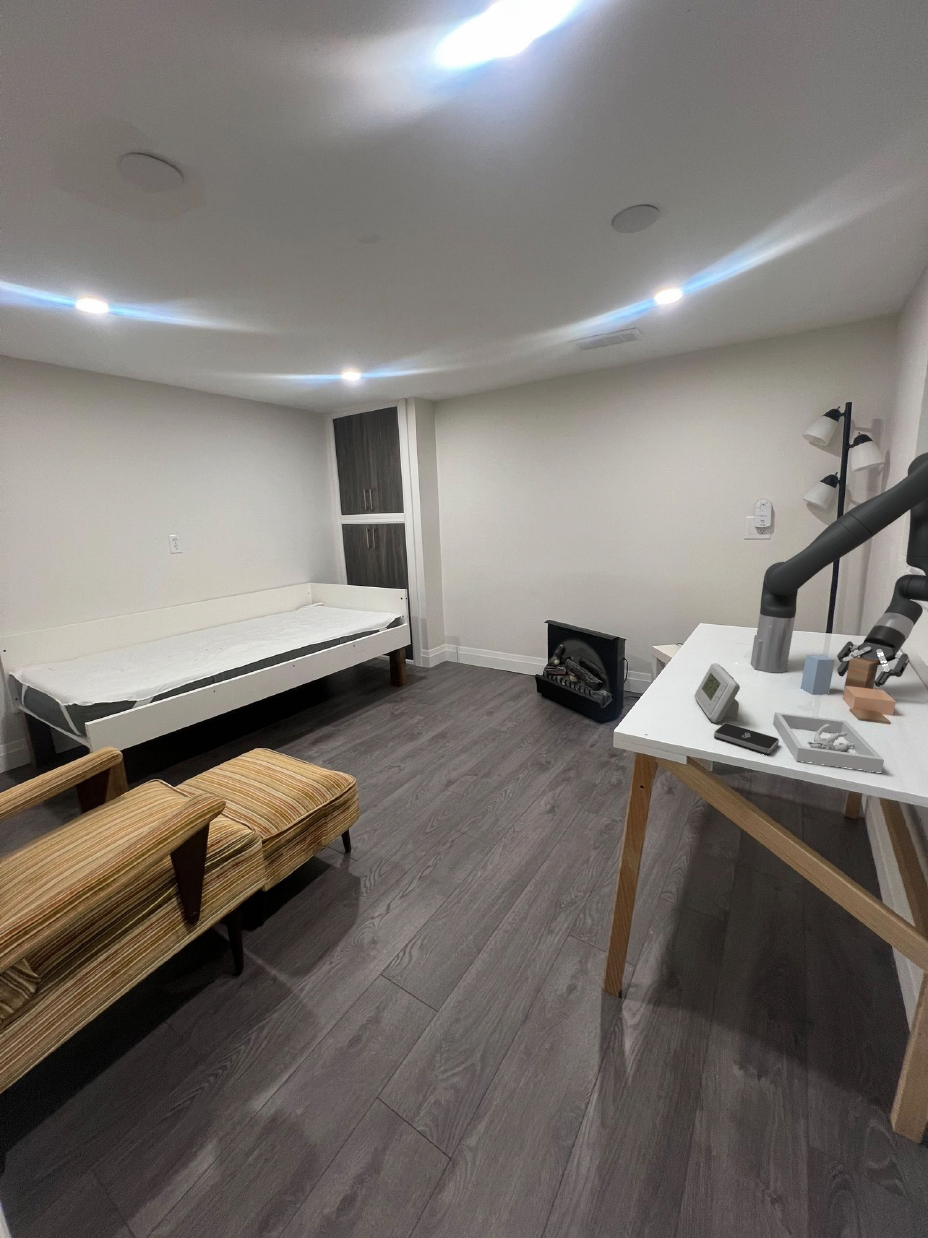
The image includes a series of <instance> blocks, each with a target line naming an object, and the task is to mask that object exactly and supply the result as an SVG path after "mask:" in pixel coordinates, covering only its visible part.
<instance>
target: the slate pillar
mask: <svg viewBox="0 0 928 1238" xmlns="http://www.w3.org/2000/svg"><path fill="white" fill-rule="evenodd" d="M805 655H806V656H805V660H804V667H803V673H802V678H801V679H802V680H801V685H800V689H801V690H802V689H803V690H802V691H804V692H806V693H807V694H810V695H812V696H815V695H816V696H817V695H819V696H822V695H823V694H828V695H829V694H830V688H831V684H832V678H833V677H832V676H833V672H834V666H835V661H836V660H835V659H834V658H832V657H829V656H827V655H825V654H805Z"/></svg>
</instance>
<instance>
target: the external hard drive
mask: <svg viewBox="0 0 928 1238" xmlns="http://www.w3.org/2000/svg"><path fill="white" fill-rule="evenodd" d="M713 738H714V740H717V741H721V742H723V743H725V744H729V745H731V746H736V747H739V748H741V749H744V750H747V749H748V751H751V752H754V753H757V754H759V753H760V755H762V754H764V755H763V756H766V755H767V756H766V757H770V755H771V754H772V753H773V752H774V751H775V750H776V749H777V747H779V742H780V739H779V737H774V736H771V735H768V734H766V733H761V732H759V731H755V730H751V729H749V728H745V727H741V726H738V725H735V724H731V723H729V722H724V723H723V724H722V725H721V726H719V727H718V728H717V729H715V731H714V733H713Z"/></svg>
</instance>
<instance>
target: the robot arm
mask: <svg viewBox="0 0 928 1238" xmlns="http://www.w3.org/2000/svg"><path fill="white" fill-rule="evenodd" d="M908 511H909V515H910V516H909V517H910V518H909V531H908V532H909V533H908V539H907V540H908V542H907V549H906V556H905V562H906V564H907V565H908V566H909V567H911V568H916V569H919V570H921V571H923V573H924V575H923V574H911V573H910V574H909V573H908V574H904V575H902V576H900V577H899V578H897V580H896V581H895V584H894V587H893V593H892V597H891V600H890V604H889V605H888V606H887V608H886V610H885V611H884V613H883V614H882V615H881V616H880V617H879V618H878V619H877V621H876V622H875V624H873V625H874V626H873V627H872V628H871V630H869V632H868V634H867V635H866V637H865V638H864V639H863V640H864V641H863V642H862V643H861V644H859V645H858V644H854V642H852V641H850V640H849V641H847V642H846V643H845V644H844V646H843V647H842V649H840V651H839V652H838V653H837V654H836V657H837V659H838V661H839V663H840V664H839V666H838V667H837V668H836V669H837V670H836V671H837V674H838V676H839V677H844V676H845V674H846V673H847V671H848V666H849V661H850V659H852V658H856V657H862V658H866V659H870V660H875V661H879V663H878V666H881V667H882V670H883V671H880V673H879V674H878V675H877V677H876V678H875V682H874V686H875V687H878V688H880V687H883V686H884V685H885V684H887V683H886V682H887V681H888V680H889V678H890V677H896V678H901V677H902V675H903V674H904V672H905V670H906V668H907V667H908V665H909V663H910V657H909V655H908V653H901V654H899V652H900V650H901V648H902V647H903V645H904V643H906V641H907V639H908V638H909V637H910V635H911V633H912V631H913V629H914V626H915V625H916V624H917V623H918V621H919V619H920V617H921V616H922V614H923V606H922V605H921V604H920V603H919V602H927V603H928V452H924V453H921V454H920V455H917V456H916V457H915V458H914V459H913V460H911V463H910V464H909V466H908V468H907V476H905V477H904V478H903V479H902V480H900V481H899V482H898V483H896V484H895V485H893V486H892V487H890V488H889V489H887V490H886V491H884V492H882V493H880V494H878V495H876V496H873V497H871V498H870V499H867V500H866V501H863V502H861V503H859V504H858V505H856V506H854V507H853V508H851V509H849V510H848V511H847V512H845V513H844V514H843V515H841V516H840V517H838V518H837V519H835V521H833V522H831V524H829V525H828V526H827V527H826V528H825V529H824V530H822V532H821V533H820V534H819V535H818V536H816V537H815V539H813V541H812V542H811V543H810V544H809V545H808V546H806V547H805V548H804V549H802V551H800V552H799V553H797V554H795V555H793V556H792V557H790V558H789V559H787V560H786V561H779V562H776V563H775V562H774V564H771V565H770V566H769V567H768V568H767V569H766V570H765V573H764V576H763V580H762V581H763V582H762V590H761V597H760V608H759V615H758V623H757V630H756V635H754V638H753V644H752V650H751V656H750V657H751V659H750V665H751V666H752V668H753V669H754V670H758V671H763V672H768V673H775V674H777V673H785V672H786V671H787V669H788V663H789V656H790V651H791V645H792V639H793V633H794V626H795V620H796V613H797V600H798V592H799V589H800V588H801V587H802V586H804V585H805V584H806V583H808V581H810V579H812V578H813V577H814V576H815V575H816V574H818V573H820V571H822V570H823V569H824V568H826V567H827V566H829V565H831V564H832V563H834V562H836V561H838V560H839V559H841V558H842V557H845V556H846V555H847V554H849V553H851V552H852V551H853V550H855V549H856V548H858V547H860V546H862V545H863V544H864V543H866V542H867V541H869V540H870V539H872V538H873V537H874V536H876V535H878V534H879V533H880V532H881V531H883V530H884V529H886V528H887V527H888V526H889V525H891V524H893V523H894V522H895V521H897V520H898V519H900V518H901V517H902V516H904V515H905V514H906V513H907V512H908ZM917 601H918V602H917ZM894 660H896V664H895V666H894V667H893V668H890V667H889V664H888V663H890V662H892V661H894Z"/></svg>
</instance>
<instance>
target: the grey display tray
mask: <svg viewBox="0 0 928 1238" xmlns="http://www.w3.org/2000/svg"><path fill="white" fill-rule="evenodd" d="M825 724H831V726H828V728H825V729H824V731H823V732H822V733H827V732H831V733H830V734H834V733H842V732H847V735H846V736H843V737H844V738H845V739H846V740H847V741H848V742H849V743H854V744H855V746H853V748H854V749H855V750H854V749H853V748H852V749H853V750H854V752H855V753H853V752H845V751H832V750H825V749H818V748H811V747H810V746H803V744H802V743H801V741H800V740H799V739H798V737H797V736H796V734H795V732H794V731H793V730H792V729H795V728H797V730H805V731H811V730H812V731H813V732H817V731H818V730H819V729H820V728H821V727H823V726H824V725H825ZM772 725H773V726H774V727H775V730H776V731H777V733H778V735H779V736H780V737H781V739H782V741H783V743H784V744H785V745H786V748H787V750H788V751H789V753H790V754H791V756H792V755H793V756H794V757H793V756H792V757H793V759H794V758H795V759H796V761H803V762H812V763H816V764H824V765H828V766H827V767H830V766H838V767H847V768H852V769H862V770H865V771H871V772H872V771H873V772H881V773H882V772H883V767H884V762H885V759H884V758H883V757H882V756H881V754H879V753H878V752H877V751H876V750H875V749H874V747H873V746H871V745H870V743H869V742H868V741H867V740H866V739H865V738H864V737H863V735H861V734H860V733H859V732H858V731H857V730H856V729H855V728H854V727H853V726H852V725H851V724H850V722H848V721H847V720H842V719H837V718H836V719H835V718H834V719H833V718H824V717H818V716H811V715H810V716H809V715H801V714H794V713H793V714H792V713H787V712H786V713H785V712H779V711H778V712H774V715H773V722H772ZM843 737H842V738H843ZM845 739H844V740H845ZM846 740H845V741H846ZM847 741H846V742H847ZM848 742H847V743H848ZM849 743H848V744H849ZM857 753H858V754H857ZM795 759H794V760H795ZM796 761H795V762H796ZM803 762H802V763H803ZM816 764H815V765H816ZM871 772H870V773H871Z"/></svg>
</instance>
